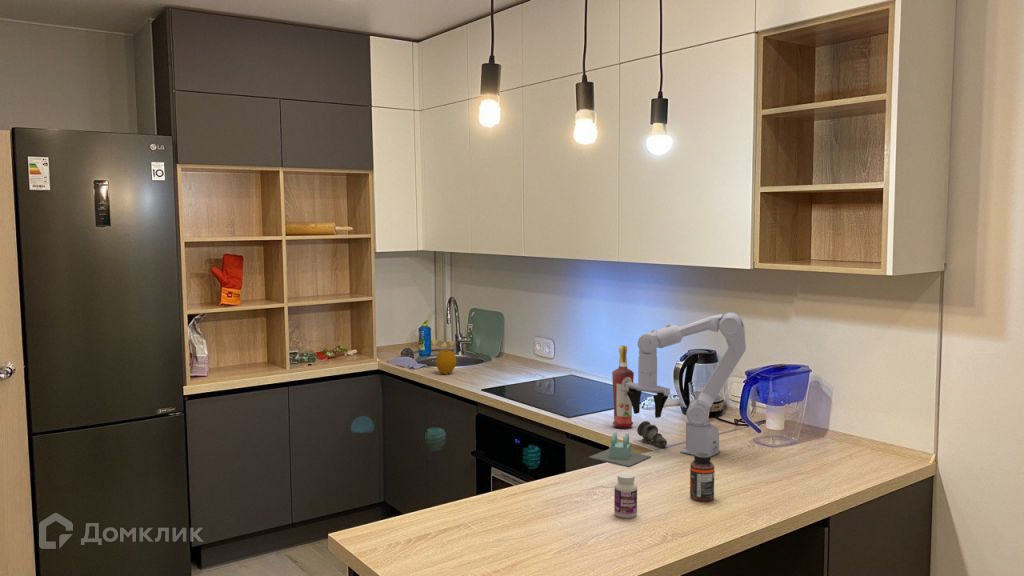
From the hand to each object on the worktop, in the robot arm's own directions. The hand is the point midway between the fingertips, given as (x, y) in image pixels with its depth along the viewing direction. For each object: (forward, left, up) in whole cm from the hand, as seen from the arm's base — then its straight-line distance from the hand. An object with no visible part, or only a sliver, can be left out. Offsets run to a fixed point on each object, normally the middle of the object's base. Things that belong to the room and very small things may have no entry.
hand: (647, 415), depth 243 cm
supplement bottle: (-34, +30, -11) cm, 47 cm away
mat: (+1, +14, -10) cm, 17 cm away
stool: (+1, +14, -10) cm, 17 cm away
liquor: (+20, -17, -11) cm, 28 cm away
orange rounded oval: (+137, -47, -11) cm, 145 cm away
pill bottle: (-26, +52, -11) cm, 59 cm away
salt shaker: (+6, -8, -7) cm, 12 cm away
